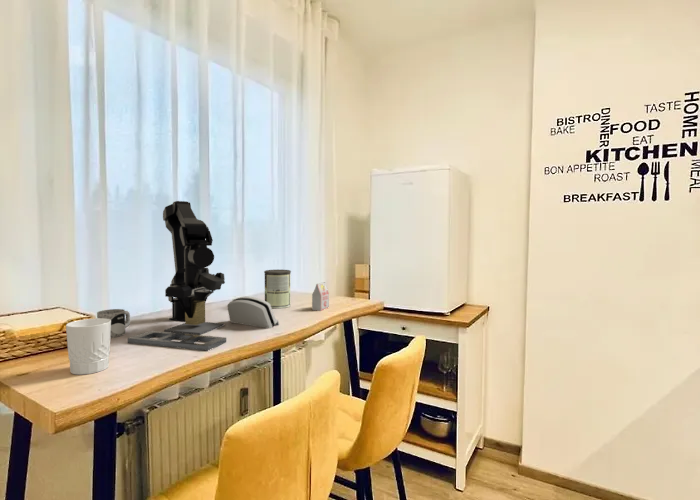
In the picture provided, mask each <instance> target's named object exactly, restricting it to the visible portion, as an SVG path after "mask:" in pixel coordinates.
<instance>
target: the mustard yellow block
mask: <svg viewBox="0 0 700 500" xmlns="http://www.w3.org/2000/svg"><path fill="white" fill-rule="evenodd" d="M204 322H206V303H205V301H198V300H194V306H193V317H192V318H188V316H187V314H186V312H185V321H184V323H185V324H190V325H198V324H201V323H204Z"/></svg>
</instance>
